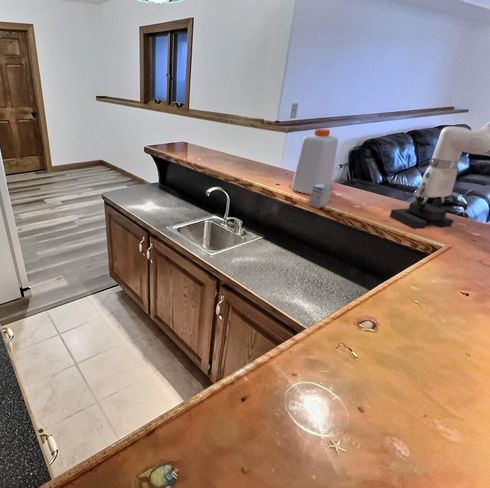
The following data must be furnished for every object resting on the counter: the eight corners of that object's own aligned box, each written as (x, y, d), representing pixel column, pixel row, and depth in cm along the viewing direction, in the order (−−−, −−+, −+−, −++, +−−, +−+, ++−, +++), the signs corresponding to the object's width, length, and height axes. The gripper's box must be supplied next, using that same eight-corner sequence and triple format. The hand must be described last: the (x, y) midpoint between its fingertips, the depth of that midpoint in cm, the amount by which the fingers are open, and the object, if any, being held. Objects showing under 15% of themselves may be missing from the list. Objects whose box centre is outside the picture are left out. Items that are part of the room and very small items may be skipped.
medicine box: (318, 201, 152) (322, 182, 148) (328, 204, 149) (332, 185, 145) (308, 205, 148) (313, 185, 144) (318, 208, 144) (323, 188, 141)
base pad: (421, 214, 139) (424, 207, 138) (450, 227, 128) (453, 220, 127) (389, 216, 137) (391, 209, 136) (415, 229, 126) (418, 222, 124)
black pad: (421, 209, 135) (424, 202, 133) (444, 219, 126) (447, 211, 124) (407, 210, 134) (410, 202, 132) (429, 219, 125) (432, 212, 124)
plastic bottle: (333, 191, 166) (347, 130, 153) (317, 198, 157) (331, 133, 144) (303, 184, 176) (314, 126, 163) (287, 190, 167) (298, 129, 154)
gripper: (430, 167, 117) (413, 217, 125) (474, 165, 119) (455, 214, 127) (413, 162, 124) (397, 210, 132) (455, 160, 126) (437, 207, 134)
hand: (426, 212), depth 129 cm, fingers closed on black pad, 6 cm apart
